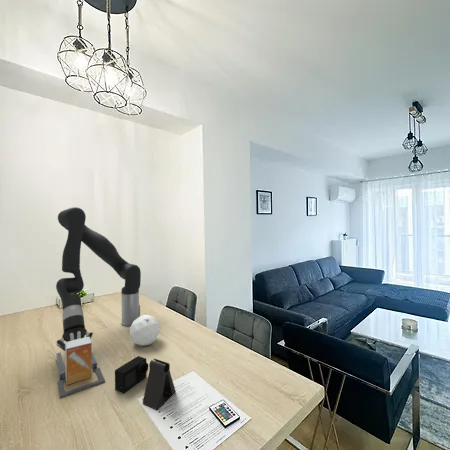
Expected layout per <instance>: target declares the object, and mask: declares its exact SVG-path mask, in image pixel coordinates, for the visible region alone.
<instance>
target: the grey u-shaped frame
mask: <svg viewBox="0 0 450 450" xmlns="http://www.w3.org/2000/svg"><path fill="white" fill-rule="evenodd" d="M63 361H64V360H63V356H62V352H57V353H56V363H57V371H58V377H59V380H62V379H63V381H64V380H65V381H66V378H65V365H64V362H63ZM97 368H98V361H97V360H96V358H95V355H94V354H93V352H92V371H95V369H97Z"/></svg>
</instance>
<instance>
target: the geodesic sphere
mask: <svg viewBox="0 0 450 450" xmlns="http://www.w3.org/2000/svg"><path fill="white" fill-rule="evenodd" d="M160 331H161V330H160V322H158V320H157V319H156V318H155V317H154V316H152V315H150V314H144V315H140V317H139V318H137V319H136V320H134V321H133V323H132V325H131V326H129V336H130V339H131V341H132V342H133V343H134V344H136V345H138V346H141V347H145V346H149V345H151V344H152V343H153V342H155V341H157V339H158V336H159V334H160Z"/></svg>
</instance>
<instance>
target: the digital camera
mask: <svg viewBox="0 0 450 450" xmlns="http://www.w3.org/2000/svg"><path fill="white" fill-rule="evenodd" d="M148 370H149V363H148V362H147V358H146V357H143V356H140V355H138V356H136V357H134V358H133V359H131V360H129V361H128V362H126V363H124V364H123V365H121V366H120V367H118V368H117V369H115V370H114V390H115V391H116V392H118V393H121V394H125V393H127V392H129V390H131V389H132V388H133V387H135V386H136V385H138V384H139V383H140V382H142V381H143V380H145V379H146V378H148V376H147V374H148Z"/></svg>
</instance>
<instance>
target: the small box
mask: <svg viewBox="0 0 450 450" xmlns="http://www.w3.org/2000/svg"><path fill="white" fill-rule="evenodd" d="M64 344H65V351H64V371H65V383H66V384H65V385H66V386H69V385H72V384H74V383H77V382H81V381H84V380H87V379H91V378H92V377H93V375H92V374H93V370H92V353H93V351H92V350H93V349H92V348H93V347H92V346H93V342H92V340H91V339H90V337H86V336H84V338H81V339H76V340H73V341H68V342H66V341H64Z"/></svg>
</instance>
